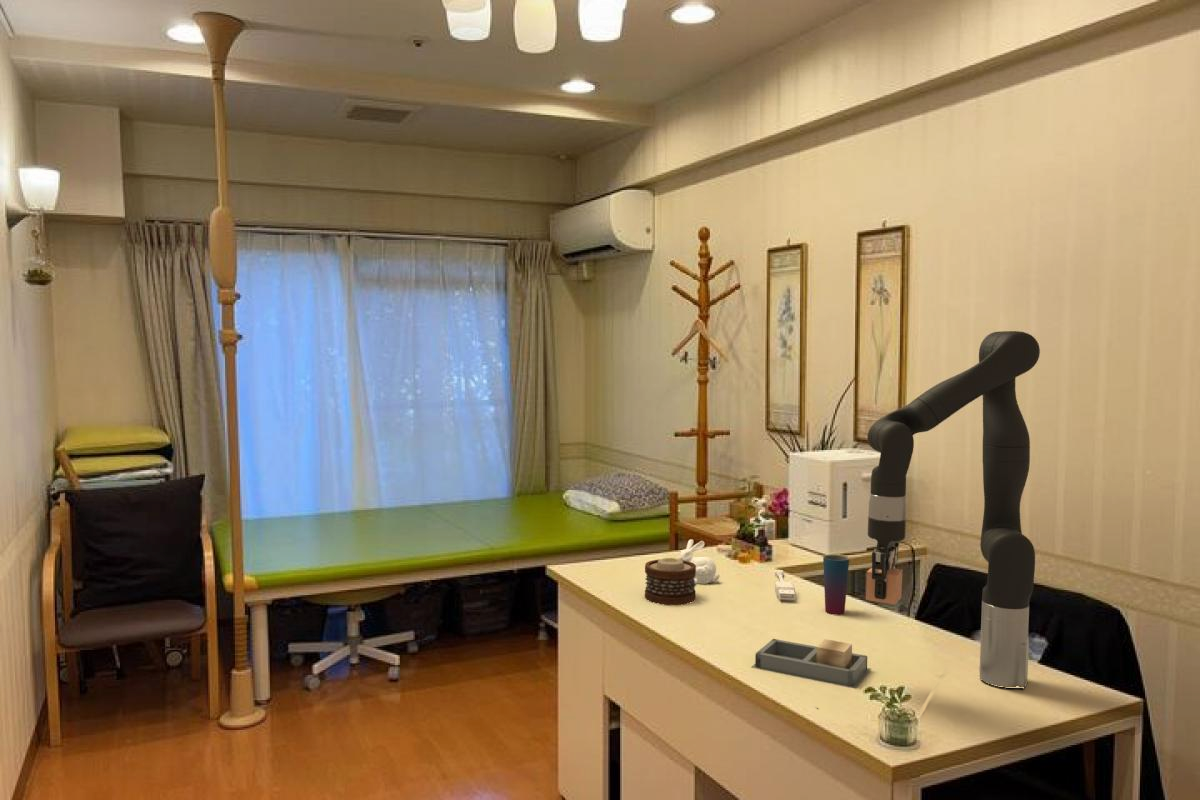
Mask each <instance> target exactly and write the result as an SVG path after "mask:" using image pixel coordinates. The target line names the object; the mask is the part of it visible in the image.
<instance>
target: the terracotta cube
mask: <svg viewBox="0 0 1200 800" xmlns="http://www.w3.org/2000/svg"><path fill="white" fill-rule="evenodd" d="M903 571H904V570H903V569H899V568H897V569H895V568H894V569H893V568H891V571H889V572H888V575H887V578H888V579H887V587H886V598H885V599H877V598H875V580H874V579H872V566H871V567H870V568H869V569H868V570H867V571H866V579H865V582H866V584H865V601H871V602H876V603H877V602H878V603H883V604H890V605H897V603H899V601H900V600H901V599H902V596H903V595H902V592H903ZM878 574H882V570H879V571H878Z"/></svg>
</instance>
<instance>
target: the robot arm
mask: <svg viewBox="0 0 1200 800" xmlns="http://www.w3.org/2000/svg"><path fill="white" fill-rule="evenodd" d="M1040 353H1041V349H1040V344H1039V342H1038V341H1037V339H1036V338H1035V336H1033V335H1032V334H1029V333H1027V332H1025V331H1018V330H1014V331H1013V330H1009V331H1007V330H1005V331H1004V330H1003V331H994V332H991V333H989V334H987V335H986V336H984V338H983V340H982V341H981V342H980V345H979V350H978V363H976V364H975V365H973V366H971V367H970V368H968V369H966V370H965V371H963V372H960V373H958V374H956V375H954V376H951V377H950V378H947V379H946V380H943V381H941V382H939V383H936V385H934V386H932V387H930V388H929V389H927V390H925V392H923V393H922V394H920V395H919V396H917V397H916V398H915V399H913V400H912V401H911V402H909V403H908V404H907V405H904V406H902V407H899V408H898V409H895V410H894V411H892V412H889V413H887V414H885V415H883V416H882V417H880V418H879V419H877V420H876V421H875V422H874V423H872V425H871V426H870V428H869V430H868V432H867V437H866V438H867V443H868V445H869V446H870V447H871V449H873V450H874V451H875V452H877V453H878V452H879V453H880V455H879V456H880V457H879V460H878V461H879V462H878V465H876V466H875V467H873V469H872V471H871V474H870V475H871V476H870V493H869V501H868V511H867V513H868V515H867V516H868V517H867V519H868V520H867V537H869V539H872V540H875V541H876V546H875V547H874V550H873V551H871V552H872V553H871V567H872V579H874V580H875V598H877V599H885V598H886V587H887V579H888V578H887V575H888V572H889V571H891V568H893V569H894V568H895V569H898V561H899V559H898V558H899V546H900V542H901V541H904V540H905V538H906V524H907V500H906V497H907V496H906V493H907V473H908V471H909V468H910V465H911V461H912V456H913V453H914V447H915V444H914V435H916V434H920V433H926V432H929V431H931V430H933V429H935V428H936V427H937V426H939V425H940V424H941V423H943V422H944V421H945V420H947V419H948V418H950V417H951V416H953V415H954V414H955V413H957V412H958V411H960V410H961V409H963V408H964V407H966V406H967V405H968V404H970V403H972V402H973V401H975V400H976V399H978V398H980V397H981V396H982V476H983V477H982V479H983V480H982V483H983V496H984V497H983V499H984V502H983V504H984V505H983V507H984V508H983V516H982V517H983V518H982V527H981V533H980V534H981V536H980V544H979V545H980V551H981V552H980V553H981V554H982V557H983V558H984V559H985V561H986V562H987V563H988V565H987V581H986V585H985V586H983V588H982V591H981V593H982V594H981V595H982V596H981V598H982V599H981V616H980V617H981V621H980V623H981V624H980V650H979V653H980V655H979V667H978V668H979V677H980V678H979V679H982V680H983V681H984V682H987V683H989V684H993V685H997V686H1003V687H1016V686H1019V687H1025V684H1026V685H1027V683H1026V681H1027V682H1028V675H1029V673H1028V672H1029V671H1028V670H1029V648H1030V638H1029V622H1030V621H1029V617H1030V599H1031V598H1032V594H1033V591H1034V584H1035V582H1034V581H1035V569H1036V551H1035V547H1034V545H1033V543H1032V540H1030V539H1029V538H1028V537H1027V536H1026V535H1024V534H1022V533H1023V532H1022V524H1021V501H1022V499H1021V498H1022V496H1023V493H1024V490H1025V486H1026V483H1027V479H1028V475H1029V472H1030V462H1031V455H1030V454H1031V439H1030V433H1029V430H1028V427H1027V424H1026V420H1025V418H1024V416H1023V413H1022V411H1021V410H1020V407H1019V403H1018V401H1017V400H1018V399H1017V394H1016V392H1017V391H1016V378H1018V377H1020V376H1021V375H1024V374H1026V373H1027V372H1029V371H1030V370H1032V369H1033V368H1034V367H1035V366H1036V364H1037V363H1038V361H1039V359H1040ZM879 570H882V574H878V571H879ZM983 681H982V682H983ZM984 682H983V683H984ZM989 684H988V685H989ZM1025 688H1026V687H1025Z"/></svg>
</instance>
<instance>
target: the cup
mask: <svg viewBox="0 0 1200 800" xmlns="http://www.w3.org/2000/svg"><path fill="white" fill-rule="evenodd" d="M822 560H823V561H822V562H823V583H824V584H823V585H824V589H823V590H824V609H825V610H824V611H825V613H826V612H827V613H826V614H828V613H829V615H832V614H838V615H837V616H842V615H844V614H846V613H845V611H846V603H847V602H846V598H847V590H848V589H847V588H848V578H849V566H850V565H849V564H850V557H849V556H847V555H843V554H825V555H823V556H822ZM841 614H842V615H841Z"/></svg>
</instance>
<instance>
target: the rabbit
mask: <svg viewBox="0 0 1200 800" xmlns="http://www.w3.org/2000/svg"><path fill="white" fill-rule="evenodd" d="M694 541H695V540H694V539H689V540H688V541H687V544H686V548H685V549H682V550H680V555H679V558H678V559H679V560H684V561H689V562H691V563H694V564H695V565H696V574H695V575H696V576H695V578H693V579H694V580H695V584H696V585H697V584H699V585H701V584H702V585H707V584H711V583H714V582H717V581H718V580H719V579H720V577H721V576H720V573H718V572H717V566H716V563H715V562H714V560H713V559H711V558H710V557H708V556H700V557H698V556H694V554H693V553H694V552H697V551H699V550H701V549H703V548H704V547H705V545H706V543H705V542H704V540H700V541H699V542H697V543H695V542H694ZM694 543H695V544H694Z"/></svg>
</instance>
